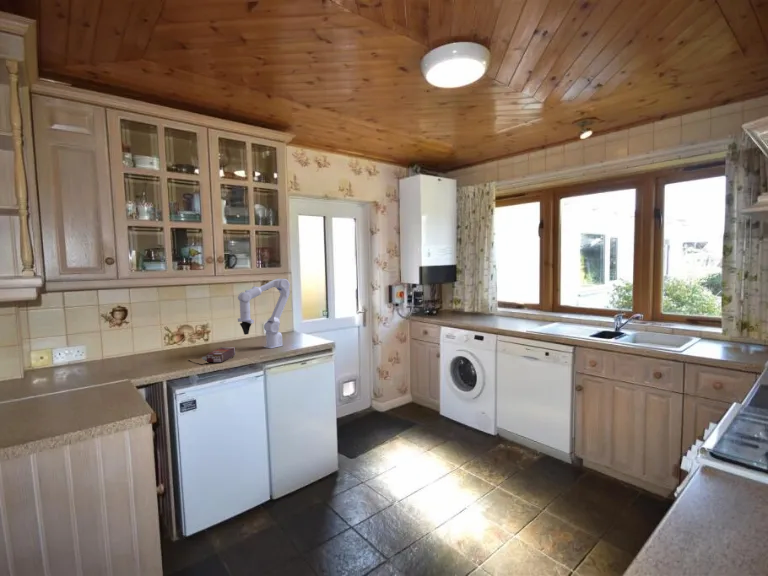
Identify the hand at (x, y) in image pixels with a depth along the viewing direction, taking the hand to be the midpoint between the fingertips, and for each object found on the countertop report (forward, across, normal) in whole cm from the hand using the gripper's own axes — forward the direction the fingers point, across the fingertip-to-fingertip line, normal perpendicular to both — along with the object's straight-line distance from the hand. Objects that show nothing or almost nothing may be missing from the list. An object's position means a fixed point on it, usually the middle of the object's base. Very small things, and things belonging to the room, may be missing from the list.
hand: (246, 334), depth 233 cm
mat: (+10, 0, -23) cm, 25 cm away
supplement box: (+8, +1, -13) cm, 15 cm away
